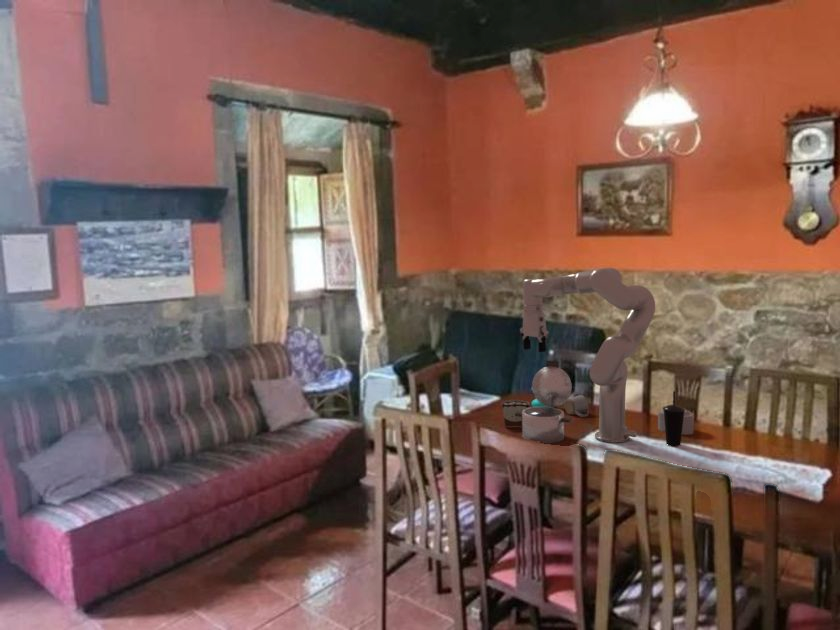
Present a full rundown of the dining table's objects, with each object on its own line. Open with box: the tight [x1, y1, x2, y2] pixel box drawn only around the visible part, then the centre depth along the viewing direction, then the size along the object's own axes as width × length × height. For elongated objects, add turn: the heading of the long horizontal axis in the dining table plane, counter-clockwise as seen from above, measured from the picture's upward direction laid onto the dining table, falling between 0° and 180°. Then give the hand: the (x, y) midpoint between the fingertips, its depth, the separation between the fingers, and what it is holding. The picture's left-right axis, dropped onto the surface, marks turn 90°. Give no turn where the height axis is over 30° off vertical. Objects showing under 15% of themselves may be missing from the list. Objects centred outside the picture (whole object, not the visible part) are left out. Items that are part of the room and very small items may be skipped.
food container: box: [500, 399, 532, 428], centre depth 274 cm, size 12×6×10 cm, turn 84°
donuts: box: [531, 389, 549, 407], centre depth 301 cm, size 10×10×10 cm
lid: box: [531, 360, 573, 408], centre depth 264 cm, size 16×18×3 cm
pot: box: [515, 406, 573, 444], centre depth 256 cm, size 22×16×10 cm
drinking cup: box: [662, 390, 686, 447], centre depth 243 cm, size 8×8×20 cm
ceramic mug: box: [563, 394, 590, 418], centre depth 287 cm, size 11×8×8 cm
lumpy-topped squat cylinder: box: [657, 408, 695, 436], centre depth 260 cm, size 10×13×9 cm
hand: (534, 350), depth 271 cm, fingers open, 9 cm apart
